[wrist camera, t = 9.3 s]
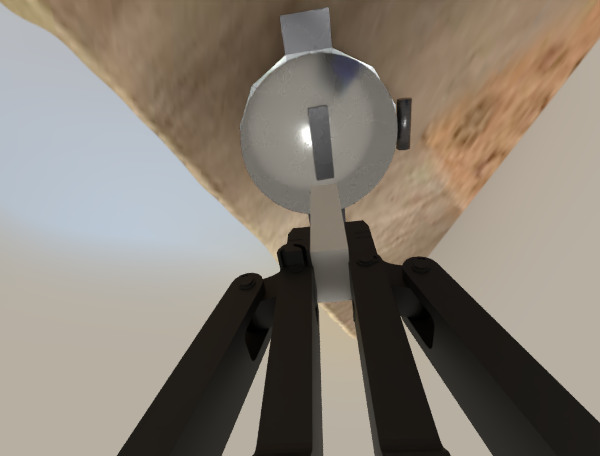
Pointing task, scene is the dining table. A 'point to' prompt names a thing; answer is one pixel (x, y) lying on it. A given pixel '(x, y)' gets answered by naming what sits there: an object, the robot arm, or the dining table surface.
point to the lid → (318, 130)
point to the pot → (317, 39)
